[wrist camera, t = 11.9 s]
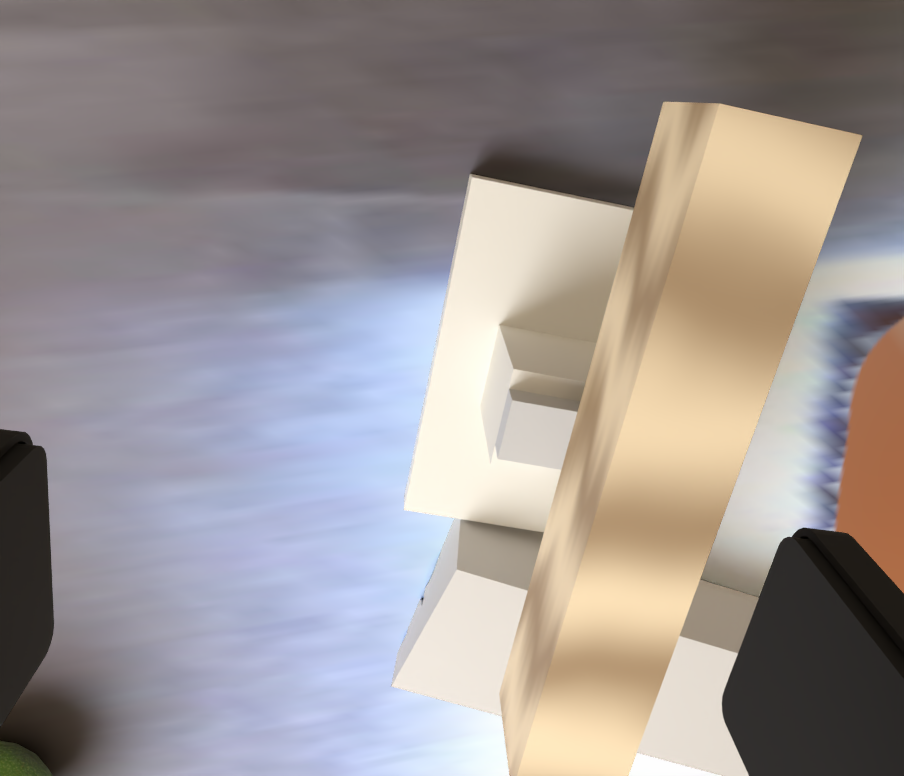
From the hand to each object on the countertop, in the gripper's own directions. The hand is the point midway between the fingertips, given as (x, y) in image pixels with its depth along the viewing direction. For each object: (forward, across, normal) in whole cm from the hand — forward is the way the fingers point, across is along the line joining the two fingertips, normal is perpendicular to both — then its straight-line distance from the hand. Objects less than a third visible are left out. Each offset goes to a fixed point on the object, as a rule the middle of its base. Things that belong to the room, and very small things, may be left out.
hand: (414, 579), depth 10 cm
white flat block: (+26, -20, +23) cm, 40 cm away
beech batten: (+18, -8, +6) cm, 20 cm away
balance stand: (+26, -9, +6) cm, 28 cm away
